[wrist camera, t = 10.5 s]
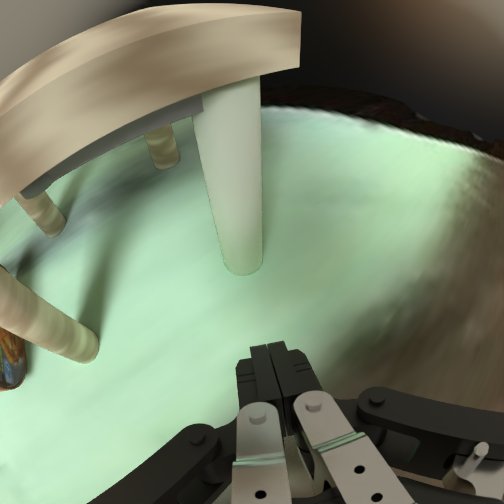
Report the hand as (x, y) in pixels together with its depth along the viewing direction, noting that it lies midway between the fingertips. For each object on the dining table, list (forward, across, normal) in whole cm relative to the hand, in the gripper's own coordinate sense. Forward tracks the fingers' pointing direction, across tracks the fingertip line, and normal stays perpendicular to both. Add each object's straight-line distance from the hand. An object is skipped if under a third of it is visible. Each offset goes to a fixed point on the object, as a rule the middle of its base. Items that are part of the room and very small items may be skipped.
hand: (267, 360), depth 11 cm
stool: (+19, +12, -4) cm, 23 cm away
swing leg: (+14, +4, 0) cm, 15 cm away
